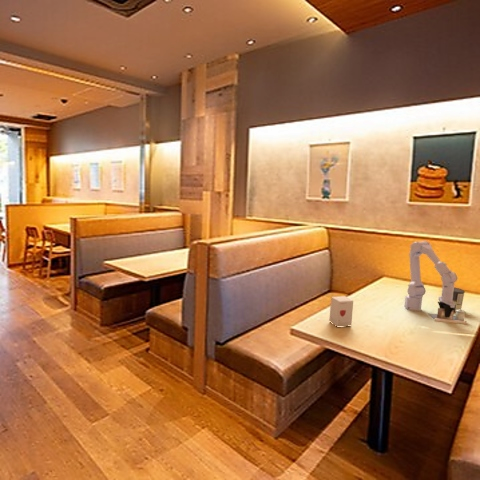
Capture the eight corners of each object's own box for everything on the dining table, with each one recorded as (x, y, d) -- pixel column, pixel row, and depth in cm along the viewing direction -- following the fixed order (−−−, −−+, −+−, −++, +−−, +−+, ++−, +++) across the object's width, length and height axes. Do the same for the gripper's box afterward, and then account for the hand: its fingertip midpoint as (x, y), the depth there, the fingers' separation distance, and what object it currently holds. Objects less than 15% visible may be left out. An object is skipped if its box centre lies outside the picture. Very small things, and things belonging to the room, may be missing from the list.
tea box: (440, 320, 211) (441, 310, 210) (437, 317, 215) (438, 307, 214) (452, 320, 210) (453, 310, 209) (449, 318, 214) (450, 308, 213)
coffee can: (445, 312, 226) (449, 290, 224) (440, 306, 236) (443, 286, 234) (463, 314, 224) (467, 292, 222) (457, 309, 234) (460, 288, 232)
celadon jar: (456, 321, 208) (457, 310, 207) (453, 318, 213) (454, 307, 212) (465, 322, 208) (466, 311, 207) (462, 319, 212) (463, 308, 211)
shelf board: (434, 322, 209) (435, 318, 209) (428, 314, 222) (428, 311, 222) (466, 325, 206) (466, 321, 206) (457, 317, 219) (458, 314, 218)
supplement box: (337, 328, 196) (339, 301, 194) (328, 322, 205) (330, 296, 203) (351, 326, 199) (353, 300, 197) (343, 321, 207) (344, 295, 205)
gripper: (434, 289, 217) (432, 311, 219) (446, 296, 203) (444, 319, 205) (446, 289, 217) (444, 311, 219) (459, 297, 203) (456, 320, 205)
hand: (444, 315), depth 212 cm, fingers open, 4 cm apart
